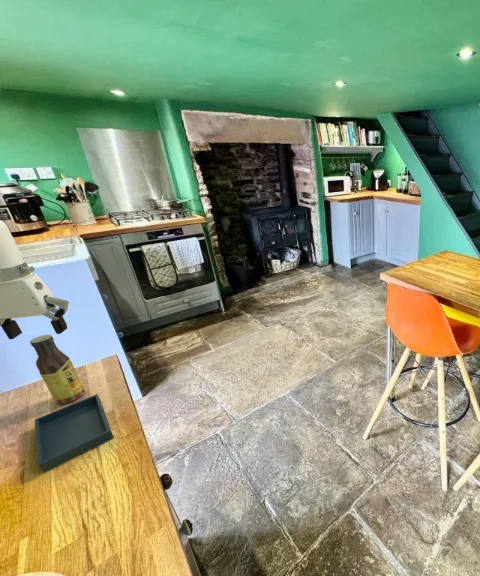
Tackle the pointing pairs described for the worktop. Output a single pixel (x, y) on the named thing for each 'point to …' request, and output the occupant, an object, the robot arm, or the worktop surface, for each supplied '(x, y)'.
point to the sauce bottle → (57, 370)
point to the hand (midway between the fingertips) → (39, 333)
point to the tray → (70, 432)
